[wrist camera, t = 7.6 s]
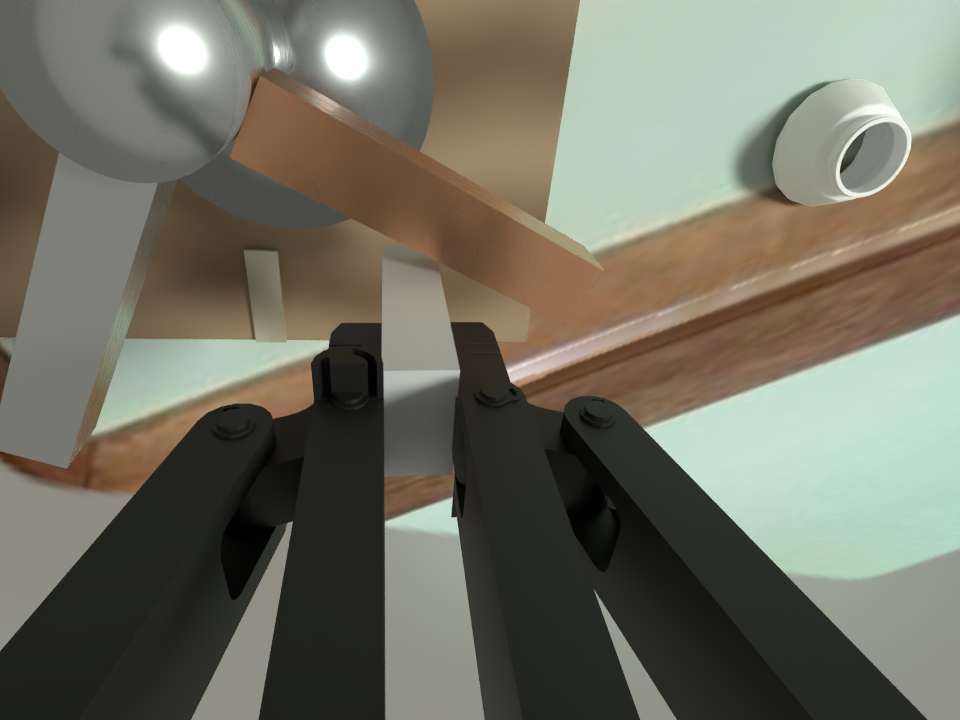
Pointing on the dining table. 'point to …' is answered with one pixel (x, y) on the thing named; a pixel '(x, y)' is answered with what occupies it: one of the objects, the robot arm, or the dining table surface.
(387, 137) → the capstan
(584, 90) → the dining table surface
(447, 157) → the board
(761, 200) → the dining table surface
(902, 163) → the white round hollow piece
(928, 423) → the dining table surface
